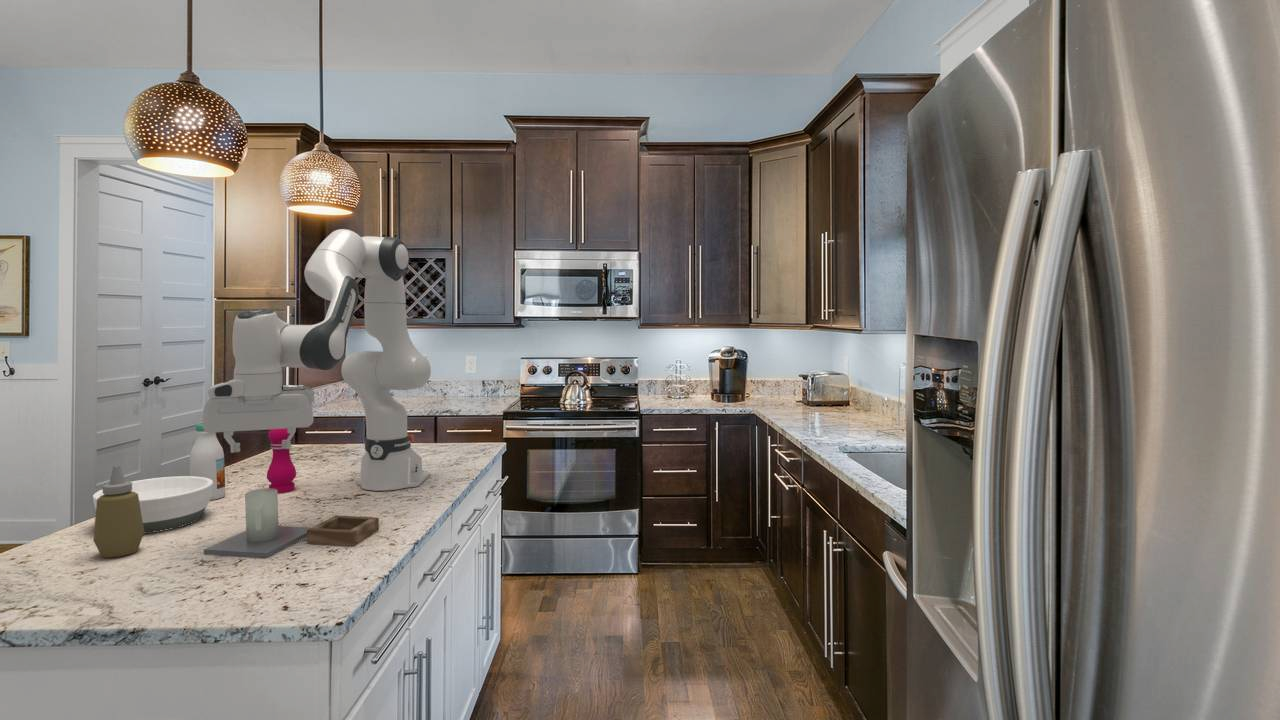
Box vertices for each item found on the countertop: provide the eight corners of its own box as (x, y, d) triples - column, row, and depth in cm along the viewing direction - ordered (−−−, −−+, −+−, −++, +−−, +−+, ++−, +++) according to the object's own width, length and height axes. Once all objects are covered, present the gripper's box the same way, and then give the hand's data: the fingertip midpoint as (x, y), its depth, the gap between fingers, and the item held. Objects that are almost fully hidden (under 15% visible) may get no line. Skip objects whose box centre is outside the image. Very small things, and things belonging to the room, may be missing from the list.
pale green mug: (249, 535, 139) (247, 490, 138) (280, 531, 141) (279, 487, 141) (242, 548, 131) (240, 500, 130) (275, 544, 134) (273, 497, 133)
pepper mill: (287, 494, 175) (285, 421, 174) (261, 493, 175) (259, 421, 174) (301, 487, 182) (300, 417, 181) (276, 486, 182) (275, 417, 181)
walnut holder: (336, 528, 147) (335, 515, 147) (378, 530, 146) (378, 517, 146) (307, 543, 137) (306, 530, 137) (352, 546, 136) (352, 532, 136)
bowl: (71, 542, 136) (70, 504, 136) (123, 511, 158) (122, 478, 157) (193, 533, 143) (192, 497, 142) (227, 505, 164) (226, 473, 164)
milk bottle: (208, 502, 166) (205, 426, 165) (183, 500, 168) (180, 425, 166) (232, 495, 174) (230, 422, 172) (208, 493, 175) (206, 421, 174)
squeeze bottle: (102, 549, 132) (99, 463, 131) (150, 544, 136) (147, 460, 134) (87, 563, 125) (83, 472, 124) (137, 557, 128) (134, 469, 127)
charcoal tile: (259, 528, 146) (259, 524, 146) (316, 532, 144) (316, 527, 144) (203, 554, 130) (203, 549, 130) (266, 558, 129) (266, 553, 129)
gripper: (314, 382, 142) (316, 443, 143) (206, 386, 134) (209, 450, 135) (312, 385, 136) (314, 449, 138) (198, 389, 128) (201, 457, 129)
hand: (261, 450), depth 136 cm, fingers open, 8 cm apart
